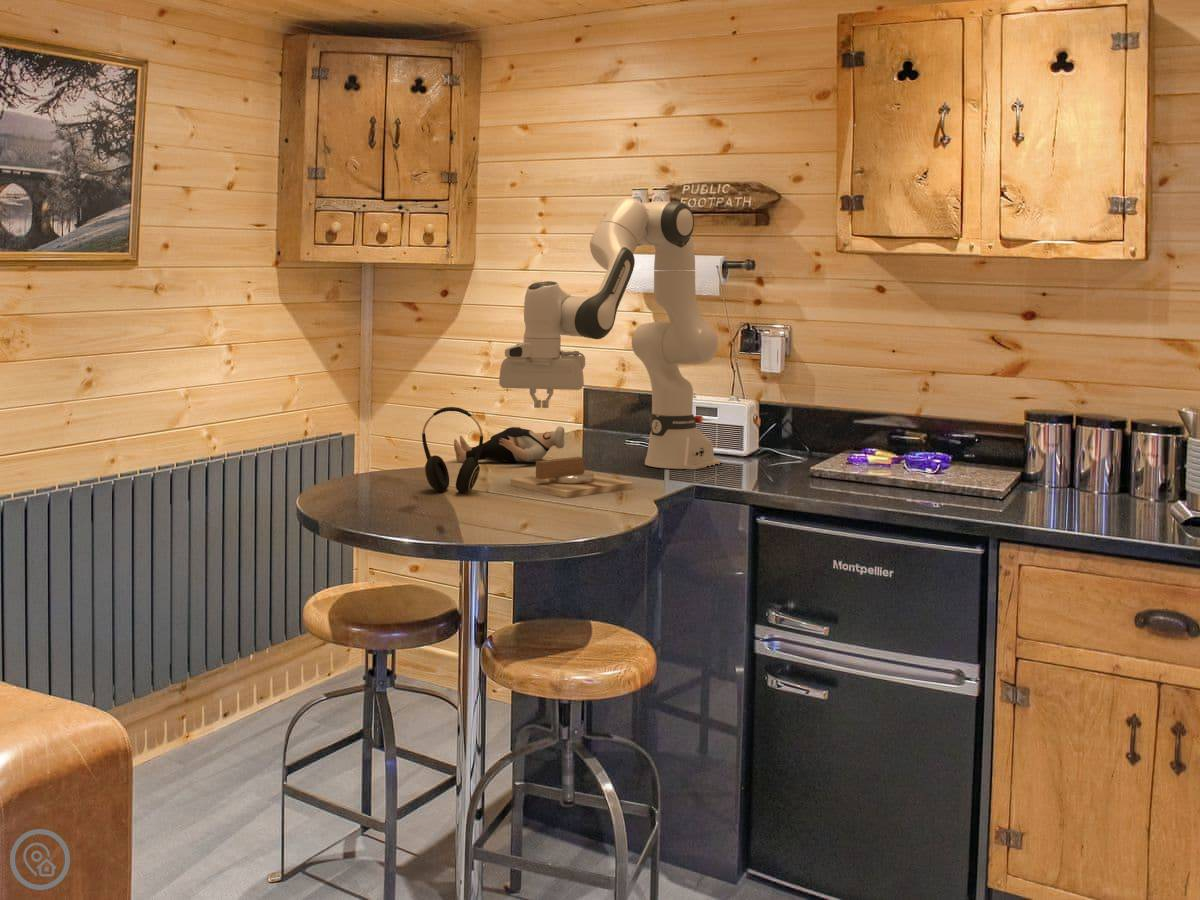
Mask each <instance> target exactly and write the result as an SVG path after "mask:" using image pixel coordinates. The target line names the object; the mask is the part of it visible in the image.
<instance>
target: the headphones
mask: <svg viewBox="0 0 1200 900" xmlns="http://www.w3.org/2000/svg"><path fill="white" fill-rule="evenodd" d="M445 412H458V413H461V414H464V415H466V416H467V417H468V418H471V419H472V420H473V421H474V423H475V424H476V426H477V428H478V429H479V432H480V435H479V442H478V445H479V446H478V445H477V446H478V450H477V452H476V455H475V458H473V457H469V458H467V459H466V460H465V461H464V462H462V465H461V467H460V469H459V471H458V474H457V475H456V476H457V477H456V482H455V489H456V491H458V492H459V493H462V494H464V493H467V492H469V491H471V490H472V489H473V488H474V486H475V484H476V483H477V480H478V477H479V474H480V472H481V471H480V470H481V466H480V464H479V461H480V460H479V457H480V454H481V450H482V446H483V443H484V433H483V430H482V427H481V425H480V423H479V422H478V421H477V419H476V418H475V417H474V416H473V415H472V414H471V413H470V412H468V411H467V410H466V409H465V408H464V409H463V408H461V407H456V406H447V407H443V408H440V409H437V410H436V411H435V412H434V413H432V415H430V417H428V419H427V420H426V422H425V423H424V426H423V428H422V431H421V432H422V433H421V438H422V439H421V440H422V446H423V450H424V454H425V458H426V463H425V465H424V473H425V474H424V475H425V478H426V480H427V482H428V484H429V486H430V487H431V488H432V489H433V490H435V491H437V492H445V491H447V489H448V488H449V485H450V474H449V470H448V467H447V464H446V463H445V461H444V460H443V458H442V457H441V456H439V455H431V453H430V450H429V447H428V442H427V437H426V436H427V435H426V428H427V426H428V423H429V422H430V421H431V420H432V419H433V418H434V417H435V416H437V415H439V414H442V413H445Z"/></svg>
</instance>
